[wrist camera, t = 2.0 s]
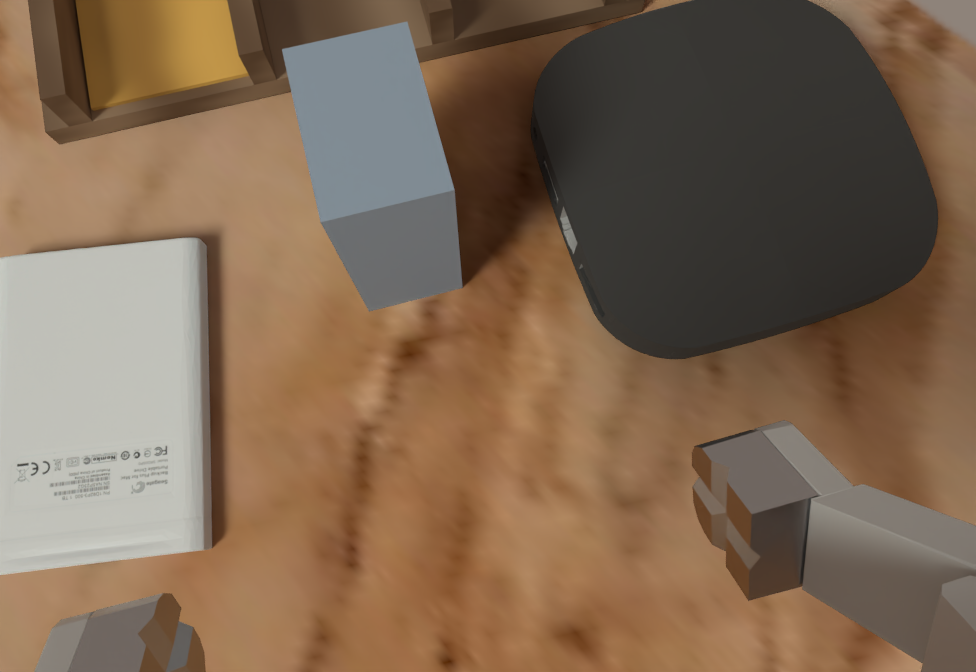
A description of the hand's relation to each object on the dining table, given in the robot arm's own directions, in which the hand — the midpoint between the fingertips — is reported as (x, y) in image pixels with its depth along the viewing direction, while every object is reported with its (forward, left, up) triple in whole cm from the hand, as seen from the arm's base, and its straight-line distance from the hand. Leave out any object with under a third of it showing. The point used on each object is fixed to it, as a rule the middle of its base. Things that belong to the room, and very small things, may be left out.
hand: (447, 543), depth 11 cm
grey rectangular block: (0, -12, -17) cm, 21 cm away
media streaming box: (-14, -11, -17) cm, 25 cm away
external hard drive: (+13, -8, -17) cm, 23 cm away
